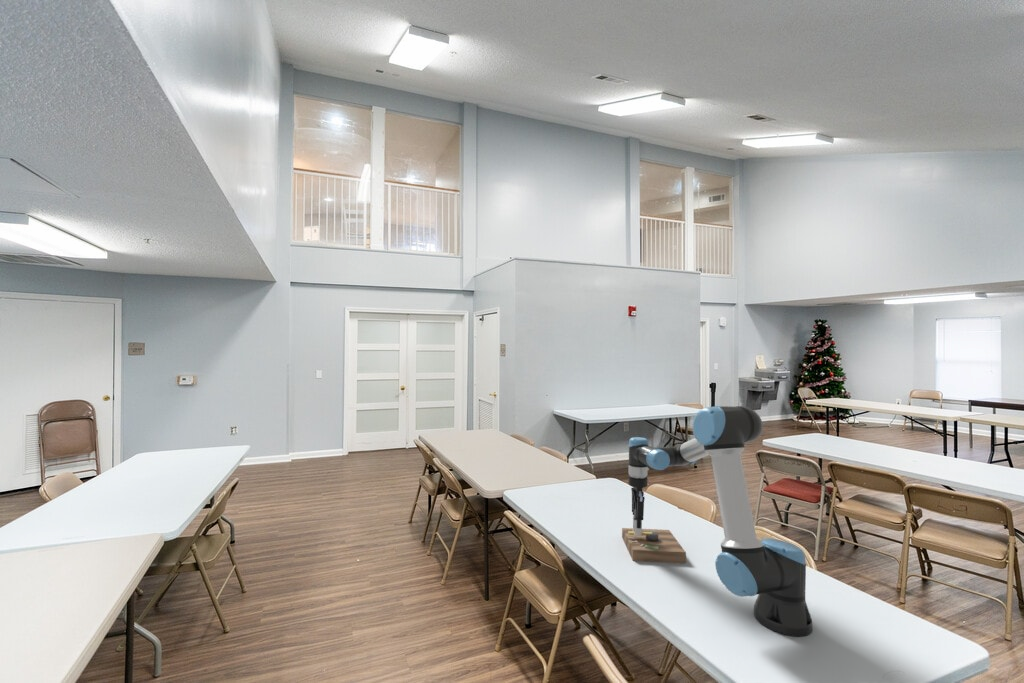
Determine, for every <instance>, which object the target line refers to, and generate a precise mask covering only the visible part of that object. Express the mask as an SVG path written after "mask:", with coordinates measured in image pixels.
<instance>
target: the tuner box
mask: <svg viewBox="0 0 1024 683" xmlns="http://www.w3.org/2000/svg"><path fill="white" fill-rule="evenodd" d="M628 531H632V532H633V527H630V528H629V527H622V528H621V538H622V540H623V542H624V545H625V548H626V549H627V551H628V553H629V555H630V558H631V559H632V561H635V562H636V561H637V562H655V563H656V562H658V563H659V562H660V563H681V564H683V563H684V564H686V562H687V561H686V560H687V558H686V554H687V552H686V551H685V549H684V548H683V546H682V545H681V543H680V542H679V541H678V540H677V539H676V537H675V536H674V534H673V533H672V532H671V531H670V530H669V529H658V528H657V529H655V528H654V529H653V528H642V532H656V533H658V535H659V536H658V541H649V540H647V539H646V536H635V535H629V534H628Z"/></svg>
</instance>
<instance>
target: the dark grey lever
mask: <svg viewBox="0 0 1024 683" xmlns="http://www.w3.org/2000/svg"><path fill="white" fill-rule="evenodd" d="M633 516H634V518H636V516H635V509H634V515H633ZM628 534H629V535H634V534H635V520H634V532H632V531H628ZM642 536H646V539H647V540H649V541H658V536H659V535H658V533H656V532H642Z"/></svg>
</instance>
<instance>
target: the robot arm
mask: <svg viewBox="0 0 1024 683" xmlns="http://www.w3.org/2000/svg"><path fill="white" fill-rule="evenodd" d="M763 425H764V424H763V421H762V418H761V416H760V414H759V413H757V412H756V411H755V410H753V409H752V408H750V407H747V406H739V405H738V406H737V405H736V406H722V405H720V406H719V405H718V406H716V405H715V406H709V407H704V408H701V409H700V410H699V411H698V412H696V415H695V417H694V419H693V423H692V433H693V437H694V438H691V439H689V440H687V441H685V442H684V443H682V444H678V445H676V446H663V447H654V446H653V447H652V446H650V445H649V441H648V439H647V438H645V437H638V436H637V437H636V436H634V437H631V438H630V439H629V442H628V443H629V444H628V480H627V481H628V485H629V486H630V487H631V489H630V490H631V512H632V528H633V532H634V520H635V534H634V535H635V536H642V529H643V528H642V527H643V521H644V514H645V513H644V512H645V511H644V510H645V508H644V507H645V498H646V497H645V496H644V495H645V493H644V490H643V488H647V487H648V484H649V483H648V481H649V480H648V471H650V468H651V469H654V470H657V471H663V470H666V468H668V467H678V466H679V467H681V466H682V467H683V466H685V467H686V466H693V465H694V464H696V463H697V461H698V460H700V459H703V458H705V457H708V456H709V457H710V460H711V466H712V471H713V477H714V478H713V479H714V482H715V483H714V484H715V488H716V494H717V499H718V506H719V511H720V517H721V522H722V523H721V524H722V527H723V528H722V529H723V535H724V539H723V540H722V541H721V542H720V549H721V552H720V553H719V554H717V556H716V559H715V563H714V564H715V570H716V573H717V576H718V578H719V580H720V581H721V583H722V585H724V587H725V588H726V590H728V591H729V592H730V593H731V594H733V595H735V596H738V597H754V596H757V598H756V600H755V601H754V602H755V603H754V605H753V616H754V618H755V619H756V621H757V622H759V623H760V624H761V625H763V626H764V627H766V628H768V629H769V630H772V631H773V632H777V633H779V634H782V635H787V636H791V637H805V636H808V635H811V633H812V632H813V620H812V616H811V613H810V611H809V607H808V605H807V600H806V590H807V589H806V586H807V585H806V579H807V576H806V574H807V572H806V570H807V569H806V568H807V562H806V553H805V552H804V550H803V549H802V548H800V547H799V546H797V545H795V544H792V543H791V542H787V541H784V540H781V539H776V538H769V537H768V538H767V537H765V538H762V539H761V540H759V538H758V537H757V533H756V527H755V522H754V517H753V512H752V507H751V503H750V502H751V501H750V496H749V491H748V485H747V480H746V477H745V476H746V475H745V471H744V465H743V460H742V456H741V455H742V453H743V452H744V450H745V449H746V448H745V445H746V444H748V443H752V442H754V441H756V440H758V439H759V437H760V436H761V434H762V433H763V430H764V429H763ZM634 509H635V516H636V518H634Z"/></svg>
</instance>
